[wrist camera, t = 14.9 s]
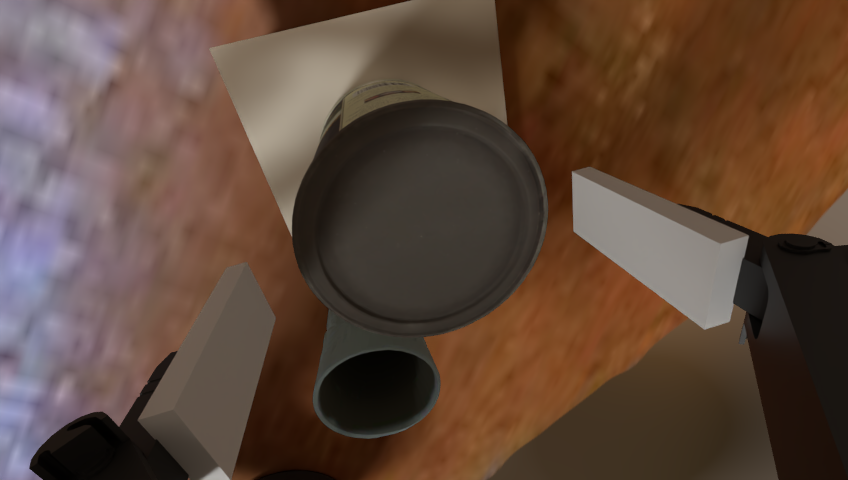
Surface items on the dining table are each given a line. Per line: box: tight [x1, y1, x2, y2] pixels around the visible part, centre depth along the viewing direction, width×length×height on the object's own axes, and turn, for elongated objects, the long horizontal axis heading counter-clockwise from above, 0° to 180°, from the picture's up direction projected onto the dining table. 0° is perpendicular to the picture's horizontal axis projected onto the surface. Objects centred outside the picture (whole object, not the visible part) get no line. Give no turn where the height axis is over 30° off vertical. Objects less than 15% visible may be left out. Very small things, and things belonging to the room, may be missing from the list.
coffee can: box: [292, 79, 548, 338], centre depth 21 cm, size 10×10×14 cm
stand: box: [209, 0, 507, 236], centre depth 30 cm, size 18×18×6 cm
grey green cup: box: [313, 309, 440, 439], centre depth 35 cm, size 10×10×12 cm
